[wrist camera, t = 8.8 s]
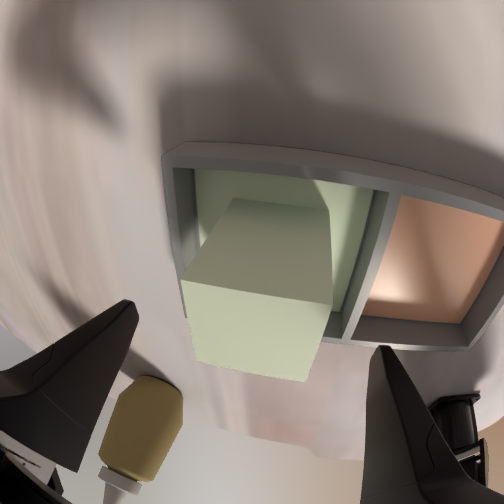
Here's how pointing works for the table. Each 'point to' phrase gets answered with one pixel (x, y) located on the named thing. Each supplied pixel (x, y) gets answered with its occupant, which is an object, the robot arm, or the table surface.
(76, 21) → the table surface
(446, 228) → the board
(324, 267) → the sage block
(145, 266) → the table surface
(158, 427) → the squeeze bottle
